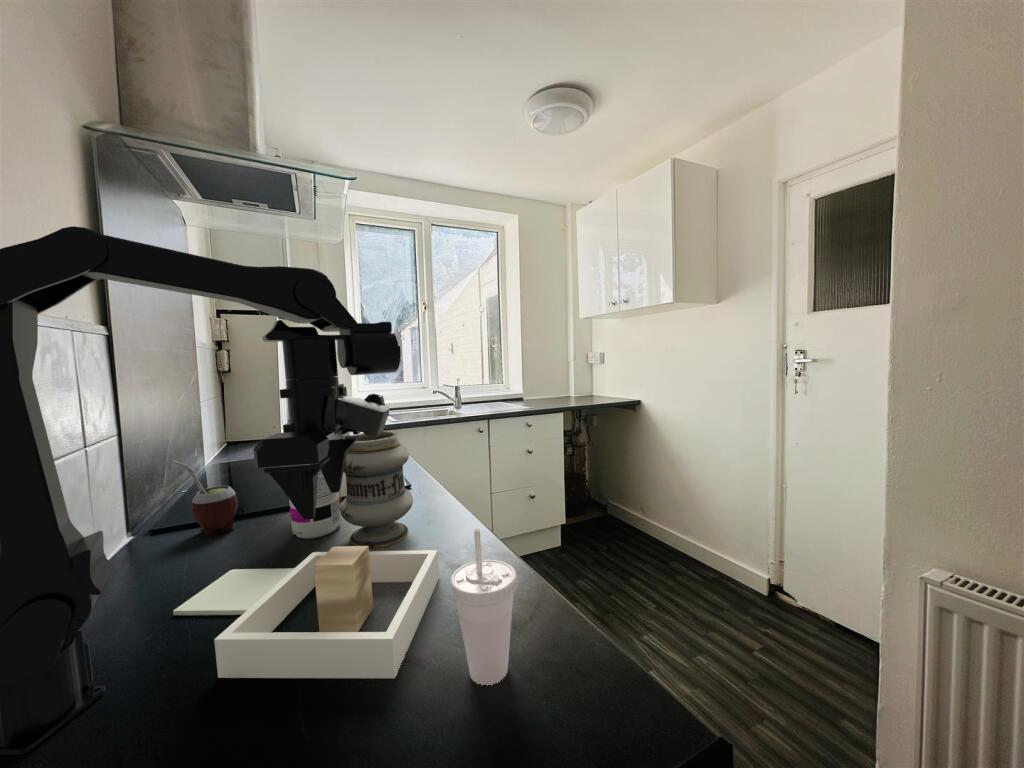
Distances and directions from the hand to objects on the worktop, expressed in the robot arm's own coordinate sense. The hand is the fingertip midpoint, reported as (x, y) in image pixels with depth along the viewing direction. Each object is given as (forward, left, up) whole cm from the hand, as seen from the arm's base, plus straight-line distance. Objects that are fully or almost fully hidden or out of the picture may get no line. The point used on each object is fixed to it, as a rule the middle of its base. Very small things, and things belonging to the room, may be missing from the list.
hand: (323, 504), depth 51 cm
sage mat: (+4, +15, -13) cm, 20 cm away
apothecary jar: (+21, +2, -14) cm, 25 cm away
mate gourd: (+24, +35, -14) cm, 44 cm away
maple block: (-2, -3, -13) cm, 14 cm away
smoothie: (-10, -21, -14) cm, 27 cm away
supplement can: (+24, +15, -14) cm, 31 cm away
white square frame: (-2, -3, -13) cm, 14 cm away
